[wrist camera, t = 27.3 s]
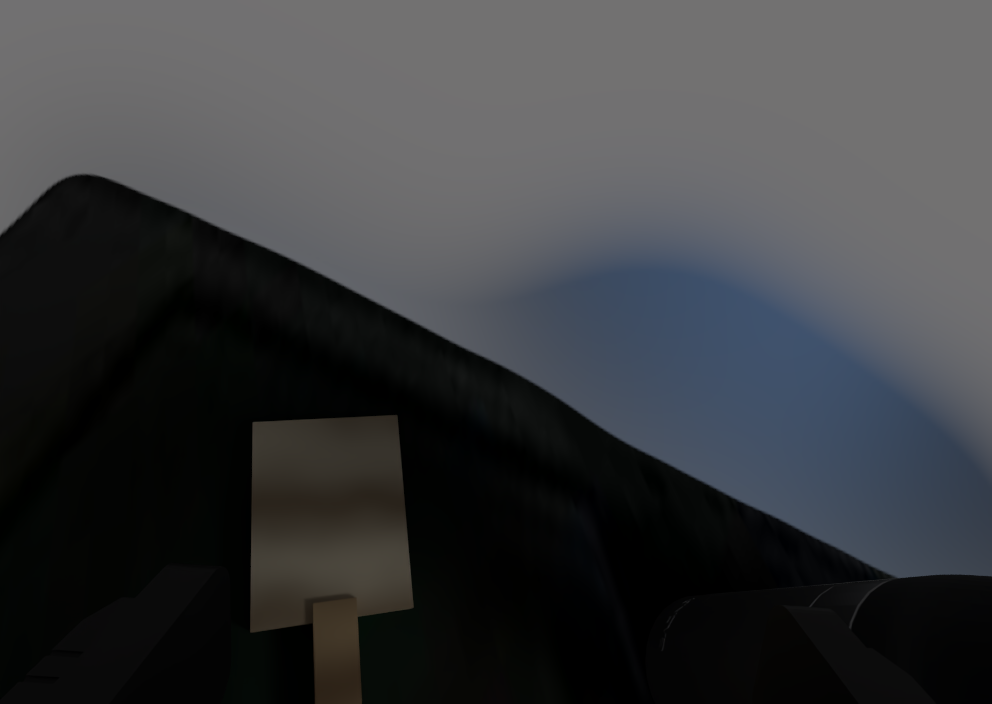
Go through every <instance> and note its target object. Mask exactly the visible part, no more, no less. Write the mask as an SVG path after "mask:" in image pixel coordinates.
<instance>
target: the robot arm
mask: <svg viewBox="0 0 992 704" xmlns="http://www.w3.org/2000/svg"><path fill="white" fill-rule="evenodd" d="M645 664H646V675H647V681H648V684H649V688H650V692H651V695H652V697H653V700H654V702H655V704H992V577H991V576H974V575H931V576H920V577H908V578H895V579H883V580H871V581H860V582H848V583H839V584H827V585H815V586H803V587H791V588H779V589H767V590H755V591H743V592H731V593H719V594H708V595H697V596H688V597H684V598H681V599H679V600H676V601H674V602H673V603H671V604H670V605H669V606H667V607H666V608H665V609H664V610H663V611H662V612H661V614H660V615H659V616H658V617H657V619H656V621H655V623H654V625H653V627H652V629H651V631H650V634H649V638H648V642H647V645H646V658H645ZM230 666H231V609H230V576H229V572H228V570H227V569H226V568H225V567H222V566H209V565H195V564H181V563H170V564H168V565H167V566H165V567H164V568H163V569H162V570H161V571H160V572H159V573H158V574H157V575H156V576H155V578H154V579H153V580H152V581H151V582H150V583H149V584H148V585H147V586H146V587H145V588H144V589H143V590H142V591H141V592H140V593H139V594H138V595H137V596H136V597H135V598H127V597H122V598H120V599H118V600H116V601H115V602H113V603H111V604H109V605H108V606H106V607H104V608H103V609H101V610H99V611H97V612H96V613H94V614H92V615H90V616H89V617H87V618H85V619H83V620H82V621H81V622H80V623H79V624H78V625H77V626H76V627H75V628H74V629H73V630H72V631H71V632H70V633H69V634H68V635H66V636H65V637H64V638H63V639H62V640H61V641H60V642H59V643H58V644H57V645H56V646H55V647H54V648H53V649H52V653H51V655H50V656H45V657H44V658H43V659H42V660H41V661H40V662H39V663H38V664H37V665H36V666H35V667H33V668H32V669H31V670H30V671H29V672H28V673H27V674H26V677H25V680H24V681H23V682H18V683H17V684H16V685H15V686H14V687H13V688H12V689H11V690H10V691H9V692H8V693H7V694H6V695H5V696H4V697H3V698H2V699H1V700H0V704H220V703H221V701H222V698H223V696H224V693H225V690H226V686H227V682H228V678H229V673H230Z"/></svg>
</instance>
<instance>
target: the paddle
mask: <svg viewBox="0 0 992 704" xmlns="http://www.w3.org/2000/svg"><path fill="white" fill-rule="evenodd" d="M411 608H414V607H413V595H412V583H411V571H410V560H409V548H408V536H407V524H406V512H405V500H404V488H403V476H402V464H401V452H400V440H399V429H398V417H397V415H387V416H367V417H347V418H327V419H307V420H287V421H266V422H253V438H252V524H251V611H250V632H259V631H266V630H272V629H279V628H286V627H292V626H299V625H306V624H312V623H313V657H314V697H315V704H362V696H361V676H360V657H359V637H358V617H359V616H365V615H372V614H379V613H385V612H392V611H399V610H405V609H411Z"/></svg>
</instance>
